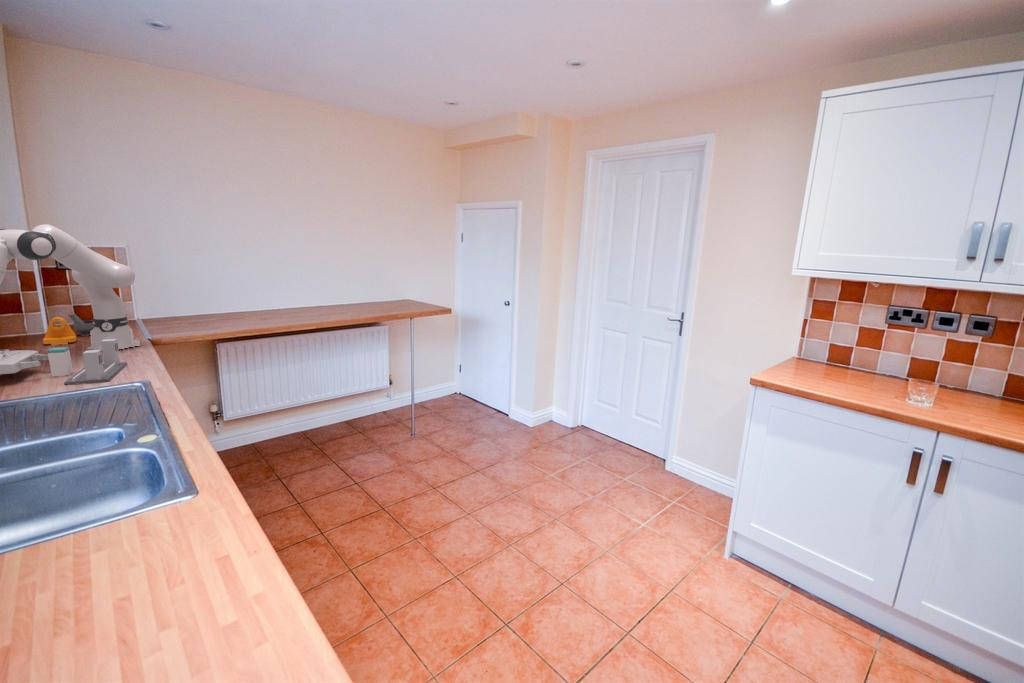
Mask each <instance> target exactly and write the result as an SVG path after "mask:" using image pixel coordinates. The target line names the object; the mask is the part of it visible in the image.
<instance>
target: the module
mask: <svg viewBox="0 0 1024 683" xmlns="http://www.w3.org/2000/svg"><path fill="white" fill-rule="evenodd" d="M47 355H48V357H49V360H48V361H49V368H50V372H51V377H52V378H54V377H53V376H58V377H66V376H65V375H69V376H70V375H72V374H73V373H74V369H73V363H72V357H71V351H70V346H61V347H52V348H49V349H48V350H47ZM72 372H73V373H72ZM71 373H72V374H71Z"/></svg>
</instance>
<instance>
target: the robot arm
mask: <svg viewBox="0 0 1024 683" xmlns="http://www.w3.org/2000/svg"><path fill="white" fill-rule="evenodd" d="M49 257H50V258H52V259H54V261H57V262H58V263H59V264H62V265H63V266H64V267H66V268H68V269H69V270H71V277H72V279H73V280H74V282H76V283H77V284H79V286H81V287H82V289H83V290H84V291H85V293H86V295H87V297H88V299H89V301H90V305H91V310H92V314H93V318H92V321H93V326H94V329H93V330H91V331H90V335H91V336H90V346H89V345H88V346H87V350H101V352H102V347H101V341H102V340H104V339H117V343H118V349H123V350H125V349H124V348H128V347H132V346H137V345H140V346H141V341H140V342H139V341H137V340H134V339H136V336H134V331H133V329H132V328H131V327H130V326H129V320H128V316H127V315H126V310H125V303H124V302H125V301H124V300H123V299H122V297H120V296H119V295H117V293H116V292H115V291H114V289H120V288H128V287H129V286H131V285H133V284H134V282H135V278H136V275H135V272H134V270H133V269H132V267H130V266H127V265H126V264H122V263H119V262H116V261H115V260H113V259H111V258H108V256H104V255H102V254H101V253H98V252H97V251H95V250H92V249H91V248H90V247H87V246H86V245H85V244H84V243H82V242H81V241H80V240H78V239H77V238H75V237H73V236H72V235H70V234H69V233H67V232H66V231H64V230H62V229H60V228H59V227H57V226H54V225H51V224H47V223H46V224H39V225H36V226H35V227H33V228H32V229H31V230H26V229H17V228H16V229H15V228H13V229H12V228H11V229H9V228H8V229H7V228H0V286H1V285H2V283H3V281H4V279H5V274H6V272H7V267H8V264H9V262H10V261H12V260H13V259H15V260H31V261H41V260H45V259H47V258H49ZM128 349H129V348H128ZM41 361H49V357H48V354H43V353H42V354H41V353H39V350H32V349H31V350H29V349H28V350H26V349H25V350H24V349H23V350H17V349H16V350H10V349H6V348H5V349H0V376H1V375H6V374H7V375H8V374H16V373H18V372H20V371H21V370H23V369H28V368H33V367H34V368H35V367H39V366H41Z"/></svg>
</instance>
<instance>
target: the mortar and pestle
mask: <svg viewBox="0 0 1024 683" xmlns="http://www.w3.org/2000/svg"><path fill="white" fill-rule="evenodd" d="M67 316H68V317H69V318H70V319H71V320H72V321H73V327H74V330H76V332H78V333H79V336H80V335H82V336H87V335H90V331H91V330H93V329H94V326H93V320H82V319H81V318H80V317H79V316H78V315H76V313H75V312H72V313H70V314H68V315H67ZM82 336H81V337H82Z"/></svg>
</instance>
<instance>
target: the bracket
mask: <svg viewBox="0 0 1024 683" xmlns="http://www.w3.org/2000/svg"><path fill="white" fill-rule="evenodd" d="M55 322H59V323H61V325H57V324H55ZM76 341H77V334H76V333H75V332H74V331H73V329H72V327H71V326H70V325H69V323H68V322H67V321H66V319H65V318H63V317H59V316H56V317H53V318H52V319H50V320H49V323H48V326H47V330H46V332H45V335H44V338H43V339H42V344H43V345H51V346H60V345H59V344H62V345H69V343H75V342H76ZM68 342H69V343H68Z"/></svg>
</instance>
